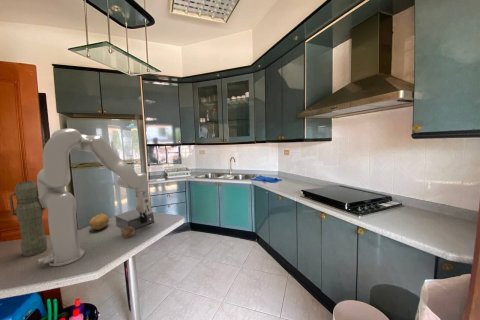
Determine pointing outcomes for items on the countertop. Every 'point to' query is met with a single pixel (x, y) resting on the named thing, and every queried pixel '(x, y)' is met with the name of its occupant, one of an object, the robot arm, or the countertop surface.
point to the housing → (128, 218)
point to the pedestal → (128, 232)
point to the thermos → (29, 218)
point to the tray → (138, 223)
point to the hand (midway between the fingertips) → (143, 222)
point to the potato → (99, 221)
